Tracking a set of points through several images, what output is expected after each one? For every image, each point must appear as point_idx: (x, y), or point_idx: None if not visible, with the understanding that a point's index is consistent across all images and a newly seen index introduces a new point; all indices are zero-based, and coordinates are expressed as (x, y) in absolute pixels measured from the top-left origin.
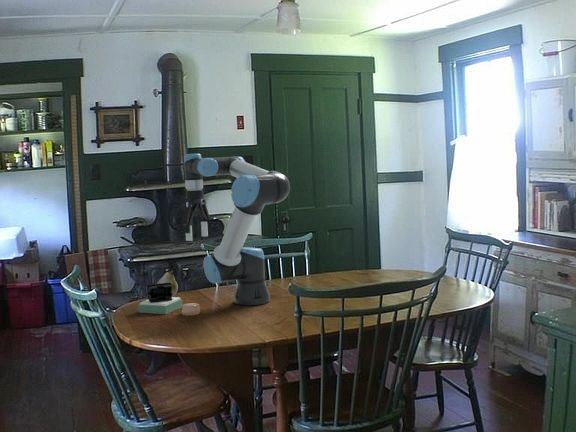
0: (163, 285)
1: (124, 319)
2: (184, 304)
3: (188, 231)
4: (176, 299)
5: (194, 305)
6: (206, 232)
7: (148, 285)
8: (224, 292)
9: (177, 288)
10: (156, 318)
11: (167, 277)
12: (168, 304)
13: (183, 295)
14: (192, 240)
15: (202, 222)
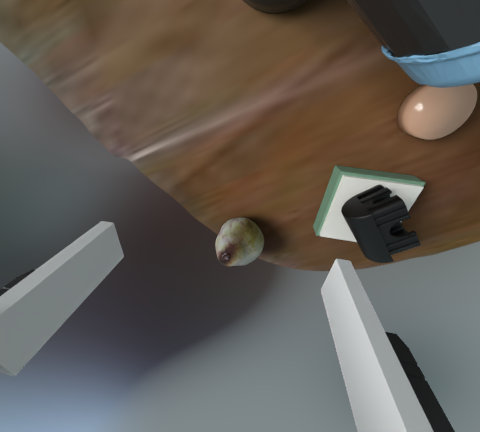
0: (388, 225)
1: (436, 240)
2: (423, 135)
3: (408, 355)
4: (364, 178)
5: (454, 93)
6: (91, 245)
7: (391, 258)
8: (171, 115)
9: (239, 219)
10: (455, 181)
11: (244, 253)
12: (403, 182)
13: (221, 205)
14: (336, 259)
15: (12, 358)
